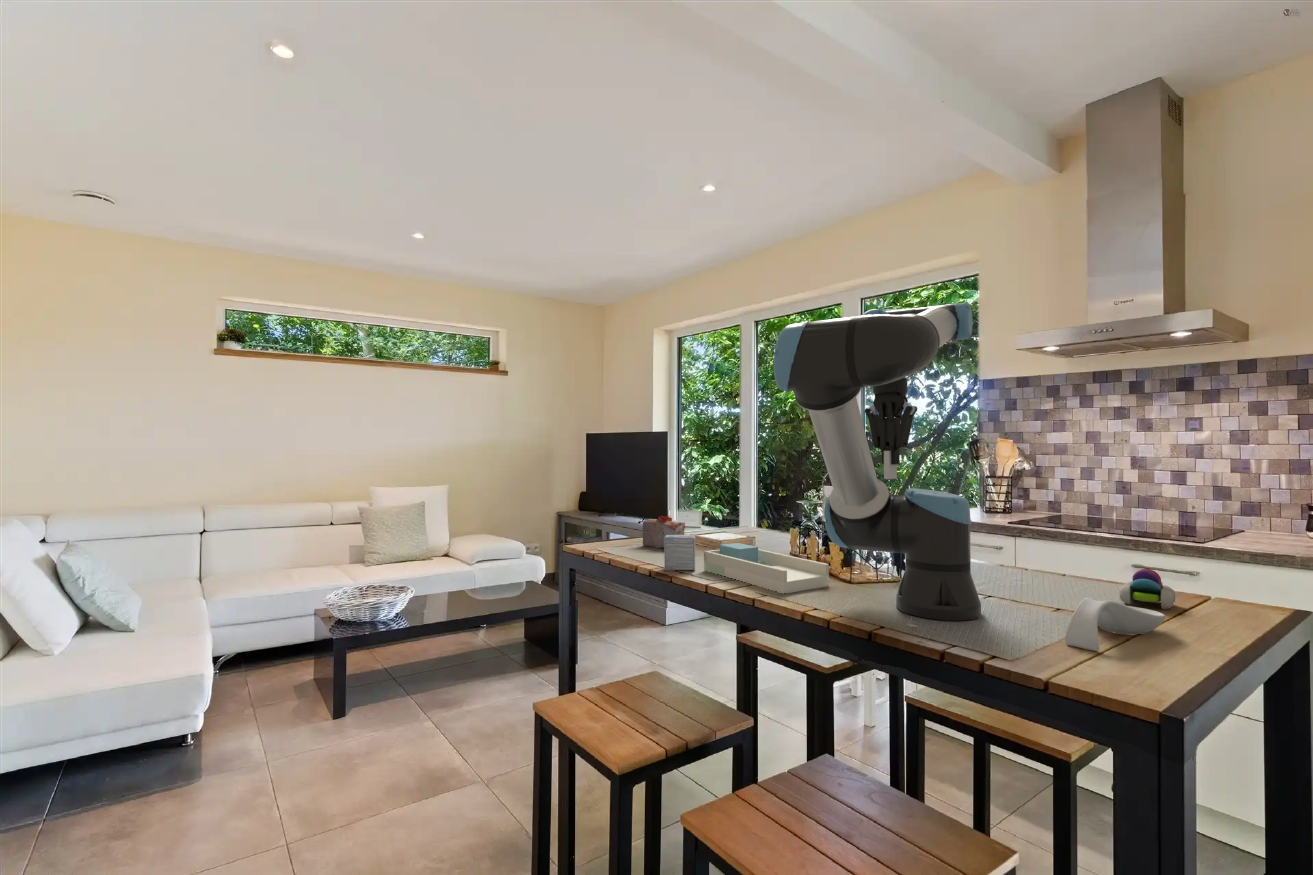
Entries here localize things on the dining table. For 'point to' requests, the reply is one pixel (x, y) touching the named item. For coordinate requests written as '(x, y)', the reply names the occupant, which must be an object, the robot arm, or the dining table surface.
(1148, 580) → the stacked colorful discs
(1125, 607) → the spoon rest
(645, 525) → the gift box with bow
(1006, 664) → the dining table surface
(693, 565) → the grey upright rectangular block
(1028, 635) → the dining table surface
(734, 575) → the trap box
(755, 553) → the block
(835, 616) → the dining table surface
